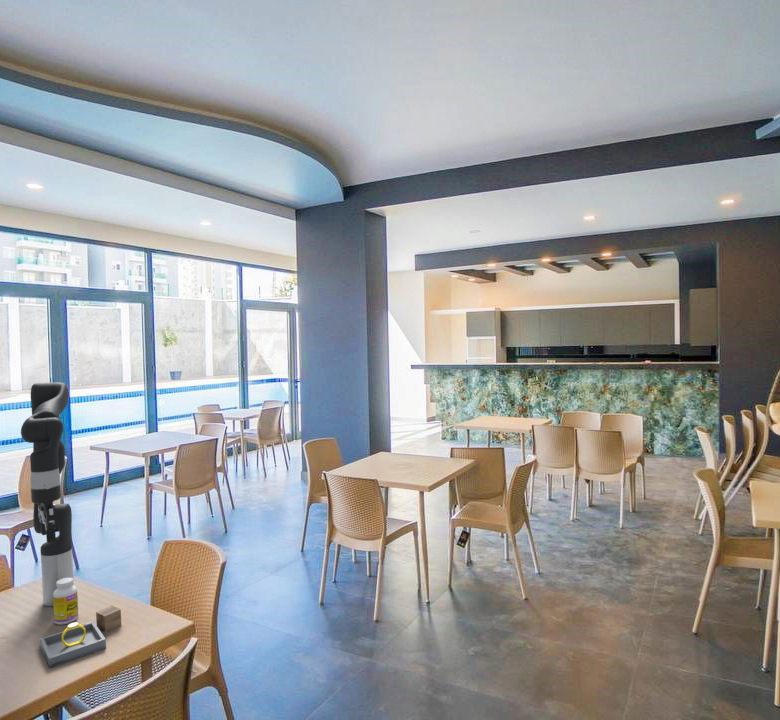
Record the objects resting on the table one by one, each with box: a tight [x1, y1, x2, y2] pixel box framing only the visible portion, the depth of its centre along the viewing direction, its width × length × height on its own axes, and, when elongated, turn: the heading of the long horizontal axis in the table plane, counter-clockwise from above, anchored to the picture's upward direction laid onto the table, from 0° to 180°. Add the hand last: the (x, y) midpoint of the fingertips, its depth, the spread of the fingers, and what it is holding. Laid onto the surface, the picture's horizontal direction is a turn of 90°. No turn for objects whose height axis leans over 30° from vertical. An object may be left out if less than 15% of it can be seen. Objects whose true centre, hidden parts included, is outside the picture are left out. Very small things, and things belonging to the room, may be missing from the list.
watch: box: [62, 621, 86, 647], centre depth 158 cm, size 6×3×6 cm, turn 126°
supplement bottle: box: [53, 578, 79, 626], centre depth 174 cm, size 7×7×13 cm
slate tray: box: [39, 620, 107, 669], centre depth 157 cm, size 14×14×3 cm
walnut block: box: [95, 605, 122, 633], centre depth 169 cm, size 5×5×5 cm
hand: (48, 538), depth 164 cm, fingers open, 8 cm apart
